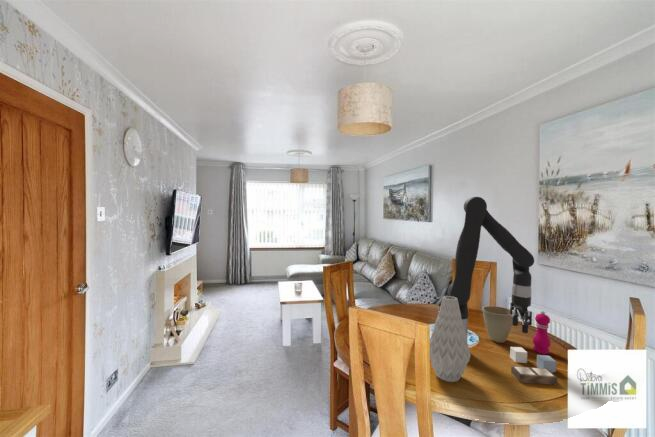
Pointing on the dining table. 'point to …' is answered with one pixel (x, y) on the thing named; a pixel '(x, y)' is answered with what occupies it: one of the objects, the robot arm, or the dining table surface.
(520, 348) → the cube cream
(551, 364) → the cube blue
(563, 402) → the dining table surface
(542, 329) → the pepper mill
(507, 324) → the plant pot
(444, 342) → the vase
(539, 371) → the plank
